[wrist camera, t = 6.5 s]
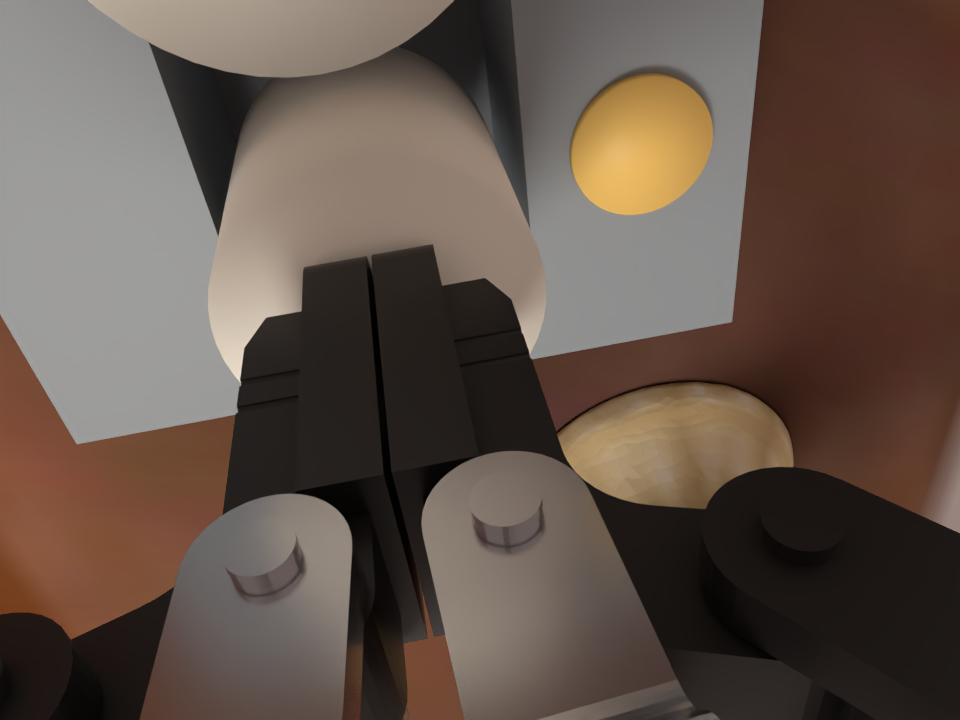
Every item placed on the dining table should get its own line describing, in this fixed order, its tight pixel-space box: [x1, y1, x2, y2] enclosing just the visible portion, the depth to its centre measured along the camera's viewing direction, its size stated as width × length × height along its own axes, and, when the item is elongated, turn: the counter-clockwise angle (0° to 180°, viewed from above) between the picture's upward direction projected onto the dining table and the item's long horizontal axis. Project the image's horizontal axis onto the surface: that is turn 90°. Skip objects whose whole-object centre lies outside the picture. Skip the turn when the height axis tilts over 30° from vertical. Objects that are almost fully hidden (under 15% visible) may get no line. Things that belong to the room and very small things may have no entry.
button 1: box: [208, 47, 546, 383], centre depth 11 cm, size 4×4×4 cm
